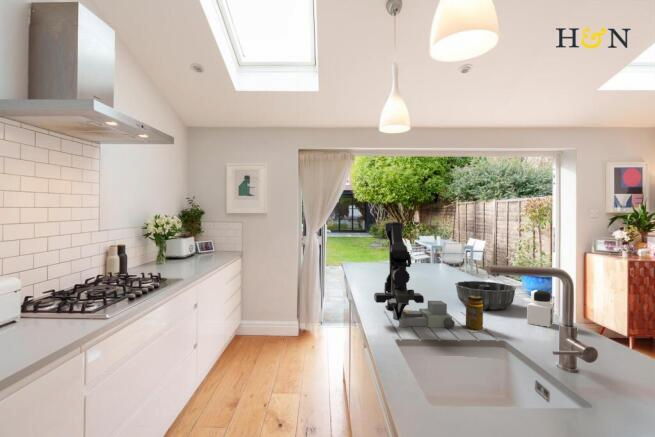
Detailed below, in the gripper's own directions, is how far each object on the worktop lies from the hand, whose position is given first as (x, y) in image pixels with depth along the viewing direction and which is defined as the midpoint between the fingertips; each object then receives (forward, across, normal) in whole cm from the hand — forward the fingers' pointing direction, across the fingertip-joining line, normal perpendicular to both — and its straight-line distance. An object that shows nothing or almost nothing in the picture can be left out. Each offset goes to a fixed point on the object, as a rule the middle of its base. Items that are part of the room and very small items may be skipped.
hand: (398, 319), depth 137 cm
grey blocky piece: (+1, +9, 0) cm, 9 cm away
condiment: (+1, +27, -7) cm, 28 cm away
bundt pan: (+1, +47, +27) cm, 55 cm away
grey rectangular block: (+1, +5, 0) cm, 5 cm away
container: (+1, +57, -1) cm, 57 cm away
